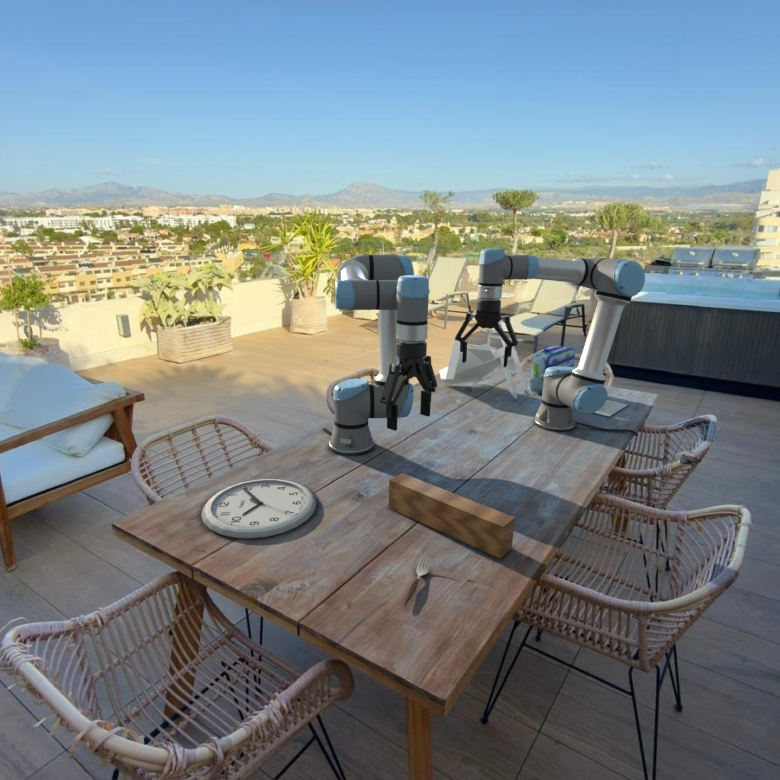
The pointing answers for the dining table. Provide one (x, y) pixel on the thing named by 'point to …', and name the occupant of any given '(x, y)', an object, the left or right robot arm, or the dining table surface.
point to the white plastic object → (480, 365)
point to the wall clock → (258, 508)
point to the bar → (452, 514)
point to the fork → (420, 572)
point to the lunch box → (549, 364)
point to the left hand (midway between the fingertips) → (409, 421)
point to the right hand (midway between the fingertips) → (484, 364)
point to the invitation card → (610, 408)
